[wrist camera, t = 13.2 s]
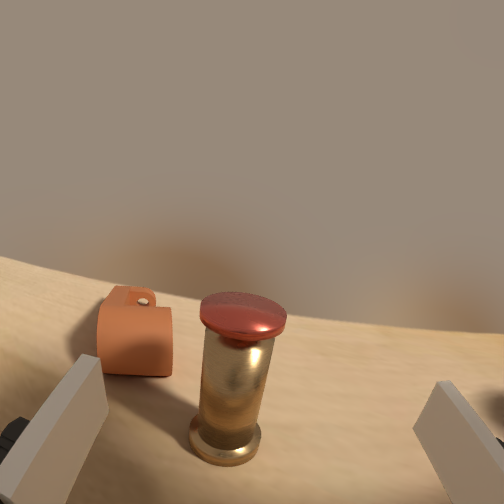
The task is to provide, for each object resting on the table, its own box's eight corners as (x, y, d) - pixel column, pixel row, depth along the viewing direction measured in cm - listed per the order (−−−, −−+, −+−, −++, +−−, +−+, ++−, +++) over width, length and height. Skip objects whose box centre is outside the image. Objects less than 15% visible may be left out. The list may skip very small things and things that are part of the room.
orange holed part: (172, 389, 31) (173, 329, 29) (101, 387, 29) (94, 324, 27) (162, 310, 49) (165, 264, 48) (115, 308, 47) (115, 261, 45)
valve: (257, 421, 28) (284, 296, 25) (259, 469, 22) (296, 336, 19) (193, 414, 28) (203, 286, 24) (184, 461, 22) (190, 323, 18)
